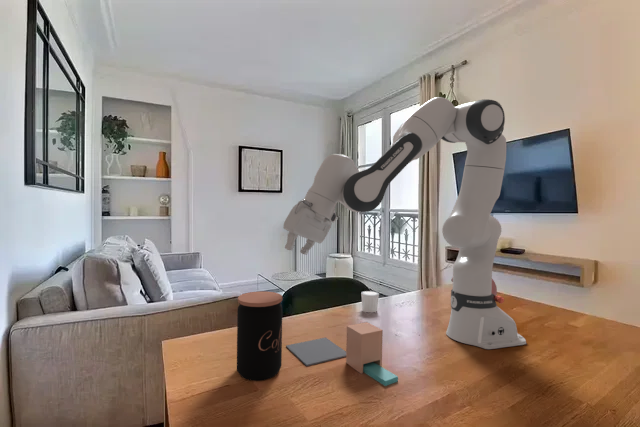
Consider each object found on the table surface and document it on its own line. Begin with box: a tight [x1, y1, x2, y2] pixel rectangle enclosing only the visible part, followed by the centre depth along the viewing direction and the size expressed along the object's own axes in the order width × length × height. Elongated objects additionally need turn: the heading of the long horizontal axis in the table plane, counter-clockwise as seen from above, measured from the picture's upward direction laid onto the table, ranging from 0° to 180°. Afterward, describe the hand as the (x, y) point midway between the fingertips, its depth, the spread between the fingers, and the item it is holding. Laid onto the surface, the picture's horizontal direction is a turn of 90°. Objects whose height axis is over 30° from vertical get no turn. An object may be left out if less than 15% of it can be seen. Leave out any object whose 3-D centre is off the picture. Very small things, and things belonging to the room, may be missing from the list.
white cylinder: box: [360, 290, 380, 313], centre depth 128 cm, size 7×7×7 cm
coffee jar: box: [236, 291, 283, 382], centre depth 79 cm, size 11×11×18 cm
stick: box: [363, 362, 399, 387], centre depth 80 cm, size 4×12×2 cm, turn 33°
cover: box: [345, 321, 384, 375], centre depth 83 cm, size 6×6×10 cm
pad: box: [285, 337, 346, 367], centre depth 91 cm, size 13×13×1 cm
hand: (295, 251), depth 92 cm, fingers open, 8 cm apart
